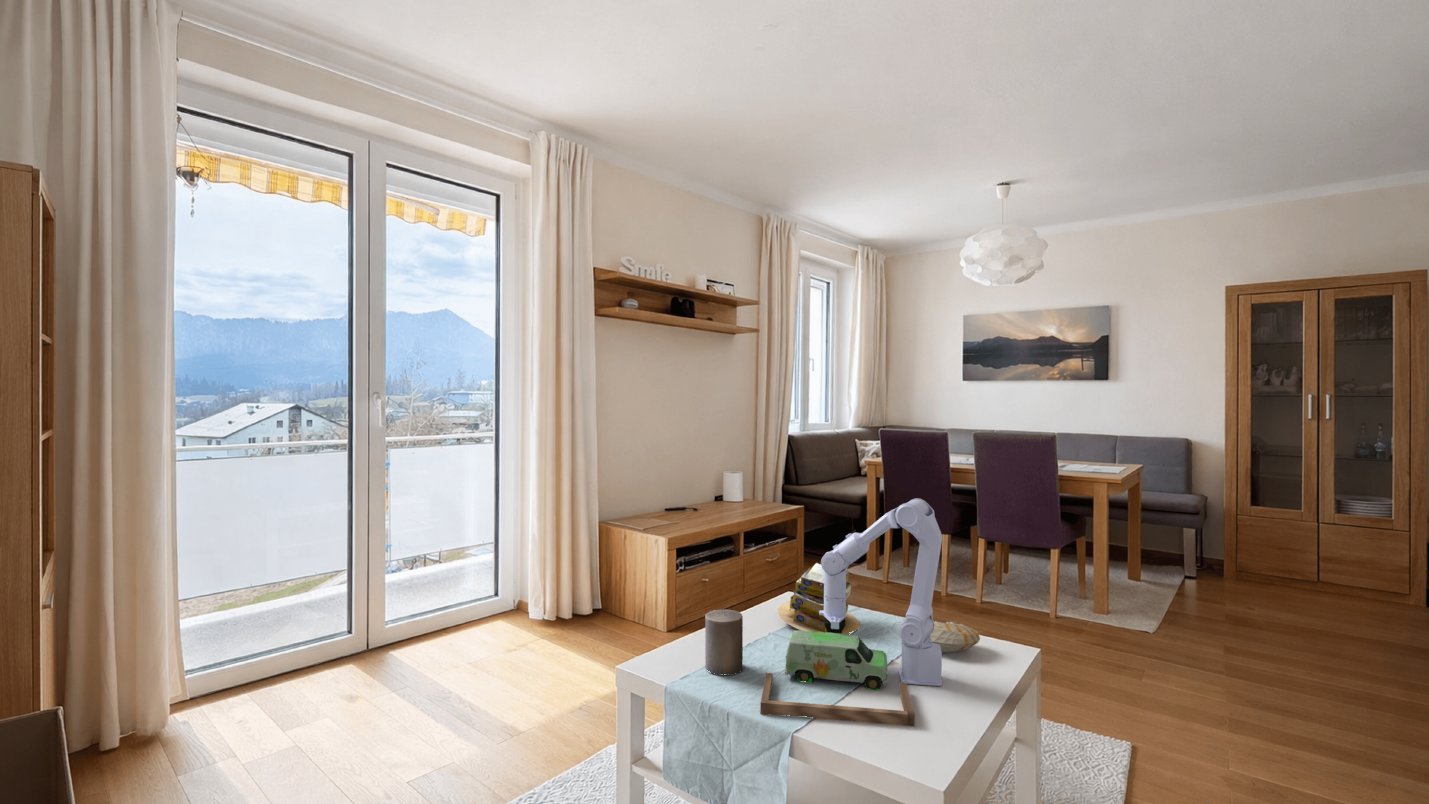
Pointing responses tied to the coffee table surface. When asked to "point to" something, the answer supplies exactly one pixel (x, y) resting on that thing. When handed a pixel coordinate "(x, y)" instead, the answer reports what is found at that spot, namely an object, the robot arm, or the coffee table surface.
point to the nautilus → (953, 636)
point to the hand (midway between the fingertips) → (834, 646)
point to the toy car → (835, 659)
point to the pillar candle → (724, 641)
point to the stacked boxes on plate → (813, 603)
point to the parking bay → (839, 709)
